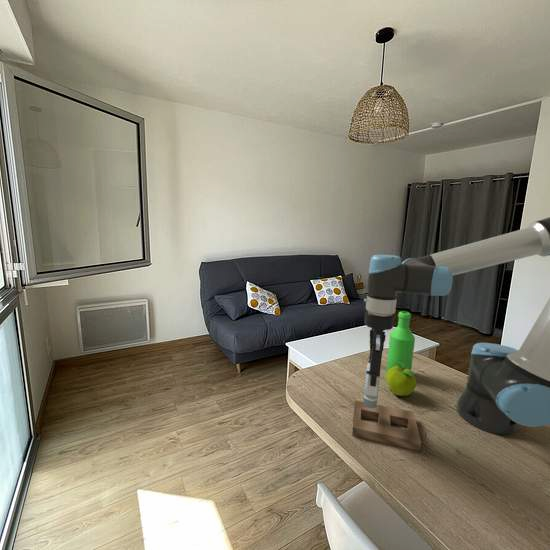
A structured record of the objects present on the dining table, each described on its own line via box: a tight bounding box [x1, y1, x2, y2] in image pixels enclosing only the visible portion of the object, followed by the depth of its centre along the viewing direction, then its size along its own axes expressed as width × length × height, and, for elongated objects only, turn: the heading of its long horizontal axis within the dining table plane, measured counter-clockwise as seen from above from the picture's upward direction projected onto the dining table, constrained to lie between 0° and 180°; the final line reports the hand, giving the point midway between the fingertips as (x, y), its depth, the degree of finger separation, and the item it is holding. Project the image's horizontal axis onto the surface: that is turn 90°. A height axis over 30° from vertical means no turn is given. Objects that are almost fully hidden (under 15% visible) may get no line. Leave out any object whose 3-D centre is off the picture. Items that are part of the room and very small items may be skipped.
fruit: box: [385, 362, 417, 397], centre depth 100 cm, size 9×9×10 cm
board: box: [351, 399, 422, 452], centre depth 83 cm, size 17×13×2 cm
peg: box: [363, 362, 381, 408], centre depth 83 cm, size 4×4×12 cm
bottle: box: [386, 310, 416, 372], centre depth 111 cm, size 9×9×25 cm
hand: (371, 390), depth 83 cm, fingers closed on peg, 3 cm apart
